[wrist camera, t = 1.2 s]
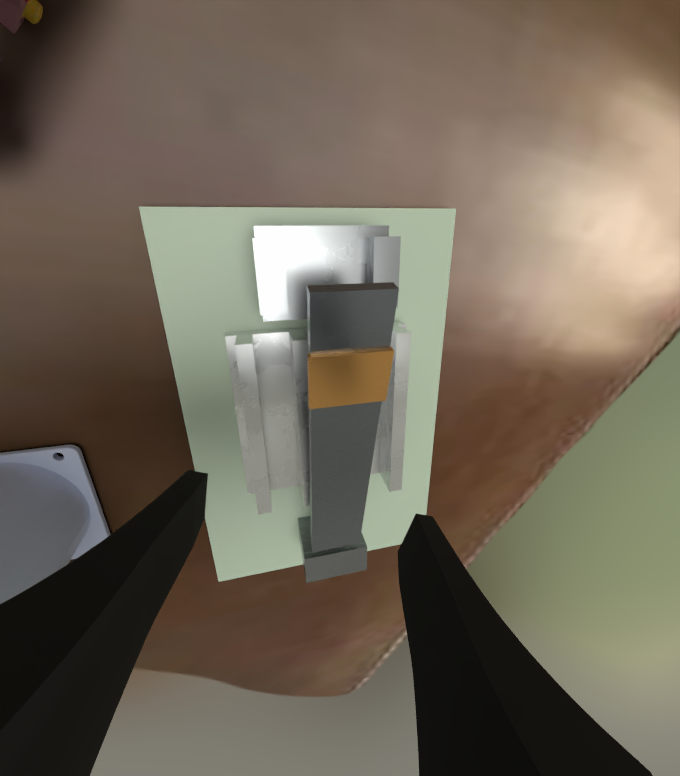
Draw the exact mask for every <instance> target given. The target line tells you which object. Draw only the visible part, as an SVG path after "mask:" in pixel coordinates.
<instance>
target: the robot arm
mask: <svg viewBox="0 0 680 776" xmlns="http://www.w3.org/2000/svg"><path fill="white" fill-rule="evenodd" d="M57 453H61V454H63V456H64V457H60V456H58V455H57ZM207 480H208V473H202V472H197V471H192V470H189V471H187V472H185V473H184V474H183V475H182V476H181V477H180V478H179V479H178V480H177V481H176V482H174V483H173V484H172V485H171V486H170V487H169V488H168V489H167V490H166V491H164V492H163V493H162V494H161V495H160V496H159V497H157V498H156V499H155V500H154V501H153V502H152V503H150V504H149V505H148V506H147V507H145V508H144V509H143V510H142V511H141V512H139V513H138V514H137V515H136V516H134V517H133V518H132V519H131V520H129V521H128V522H127V523H125V524H124V525H123V526H121V527H120V528H119V529H117V530H116V531H115V532H113V533H112V534H110V531H109V528H108V526H107V523H106V520H105V517H104V514H103V511H102V509H101V506H100V503H99V500H98V497H97V494H96V492H95V489H94V486H93V483H92V480H91V477H90V475H89V472H88V469H87V466H86V463H85V460H84V458H83V455H82V452H81V450H80V448H78V447H77V446H75V445H62V446H53V447H45V448H36V449H28V450H20V451H11V452H3V453H0V776H90V773H91V770H92V768H93V765H94V763H95V760H96V758H97V756H98V753H99V750H100V748H101V746H102V743H103V740H104V738H105V736H106V733H107V730H108V728H109V725H110V723H111V720H112V718H113V715H114V713H115V710H116V708H117V706H118V703H119V701H120V699H121V696H122V694H123V691H124V689H125V686H126V684H127V681H128V679H129V677H130V674H131V672H132V670H133V667H134V665H135V663H136V660H137V658H138V656H139V653H140V651H141V649H142V646H143V644H144V642H145V639H146V637H147V635H148V632H149V630H150V628H151V626H152V624H153V622H154V620H155V618H156V616H157V614H158V612H159V610H160V608H161V607H162V605H163V603H164V601H165V599H166V597H167V595H168V593H169V591H170V590H171V588H172V586H173V584H174V582H175V580H176V578H177V576H178V574H179V572H180V571H181V569H182V567H183V565H184V563H185V561H186V559H187V557H188V555H189V553H190V551H191V549H192V547H193V545H194V543H195V540H196V538H197V535H198V533H199V530H200V528H201V525H202V522H203V520H204V517H205V506H206V493H207ZM71 559H75V560H73V561H72V562H70V563H69V561H70V560H71ZM68 563H69V564H68ZM398 570H399V585H400V592H401V598H402V604H403V611H404V617H405V623H406V629H407V635H408V641H409V647H410V654H411V661H412V669H413V678H414V690H415V704H416V719H417V736H418V752H419V776H652V774H651V772H650V771H649V770H648V769H646V768H645V767H644V766H643V765H642V764H641V763H640V762H639V761H638V760H637V759H636V758H634V757H633V756H632V755H631V754H630V753H629V752H628V751H627V750H626V749H624V748H623V747H622V746H621V745H620V744H619V743H618V742H617V741H616V740H615V739H613V737H611V736H610V735H609V734H608V733H607V732H606V731H605V730H604V729H603V728H602V727H601V726H600V725H598V724H597V723H596V722H595V721H594V720H593V719H592V718H591V717H590V716H589V715H588V714H587V713H586V712H585V711H584V710H583V709H582V708H581V707H580V706H579V705H578V704H577V703H576V702H575V701H574V700H573V699H572V698H571V697H570V696H569V695H568V694H567V693H566V692H565V691H564V690H563V689H562V688H561V686H559V684H558V683H557V682H556V681H555V680H554V679H553V678H552V677H551V676H550V675H549V674H548V673H547V671H546V670H545V669H544V668H543V667H542V666H541V665H540V664H539V663H538V662H537V660H536V659H535V658H534V657H533V656H532V655H531V654H530V653H529V651H528V650H527V649H526V648H525V647H524V646H523V645H522V643H521V642H520V641H519V640H518V638H517V637H516V636H515V635H514V634H513V632H512V631H511V630H510V629H509V627H508V626H507V625H506V624H505V623H504V621H503V620H502V619H501V617H500V616H499V615H498V614H497V612H496V611H495V610H494V608H493V607H492V606H491V604H490V603H489V601H488V600H487V599H486V597H485V596H484V595H483V593H482V592H481V590H480V589H479V588H478V586H477V585H476V583H475V582H474V580H473V579H472V577H471V576H470V575H469V573H468V572H467V570H466V569H465V567H464V566H463V564H462V562H461V561H460V559H459V558H458V556H457V555H456V553H455V552H454V550H453V548H452V547H451V545H450V544H449V542H448V540H447V539H446V537H445V536H444V534H443V532H442V531H441V529H440V528H439V526H438V524H437V523H436V521H435V520H434V518H433V517H432V516H427V515H421V514H415V516H414V519H413V521H412V523H411V525H410V527H409V529H408V531H407V533H406V536H405V538H404V540H403V542H402V544H401V546H400V548H399V550H398Z"/></svg>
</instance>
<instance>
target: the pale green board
mask: <svg viewBox="0 0 680 776" xmlns="http://www.w3.org/2000/svg"><path fill="white" fill-rule="evenodd" d="M139 209H140V214H141V219H142V224H143V228H144V233H145V238H146V242H147V247H148V252H149V257H150V261H151V266H152V271H153V275H154V280H155V285H156V289H157V294H158V299H159V304H160V308H161V313H162V318H163V322H164V327H165V332H166V336H167V341H168V346H169V351H170V355H171V360H172V365H173V369H174V374H175V379H176V384H177V388H178V393H179V398H180V402H181V407H182V412H183V416H184V421H185V426H186V431H187V435H188V440H189V445H190V449H191V454H192V459H193V464H194V468H195V471H197V472H202V473H208V480H207V493H206V506H205V520H206V525H207V529H208V534H209V539H210V544H211V548H212V553H213V558H214V562H215V567H216V572H217V576H218V581H219V582H220V581H225V580H229V579H234V578H239V577H244V576H249V575H254V574H258V573H263V572H268V571H273V570H278V569H283V568H287V567H292V566H297V565H302V564H303V558H302V552H301V546H300V539H299V527H298V518H300V517H306V516H310V506H305V507H304V502H303V497H302V492H301V487H300V486H294V487H288V488H282V489H275V490H271V502H272V512H270V513H264V514H258V510H257V503H256V496H255V493H250V494H248V491H247V484H246V477H245V470H244V464H243V457H242V450H241V443H240V437H239V430H238V423H237V416H236V409H235V403H234V396H233V389H232V382H231V375H230V369H229V362H228V355H227V348H226V342H225V334H226V332H235V331H251V330H266V329H281V328H297V327H308V322H307V319H299V320H282V321H266V322H263V315H260V307H259V298H258V288H257V279H256V269H255V260H254V250H253V241H252V238H254V226H351V225H389V236H401V246H400V268H399V293H398V307H397V308H396V312H395V319H394V321H401V322H403V323H406V324H407V325H406V330H408V331H410V332H411V345H410V361H409V377H408V394H407V410H406V426H405V443H404V459H403V476H402V490H397V491H392V492H389V490H388V488H387V486H386V485H385V483H384V481H383V479H382V477H381V476H380V474H379V473H376V474H370V479H369V486H368V492H367V499H366V505H365V511H364V518H363V524H362V531H361V532H362V534H363V537H364V540H365V542H366V545H367V551H370V550H374V549H379V548H384V547H389V546H394V545H399V544H402V542H403V540H404V538H405V536H406V533H407V531H408V529H409V527H410V525H411V523H412V521H413V519H414V516H415V514H421V515H426V512H427V501H428V491H429V481H430V471H431V460H432V450H433V440H434V430H435V419H436V409H437V399H438V389H439V378H440V368H441V358H442V348H443V337H444V327H445V317H446V306H447V296H448V286H449V276H450V265H451V255H452V245H453V235H454V224H455V214H456V209H440V208H271V207H139Z"/></svg>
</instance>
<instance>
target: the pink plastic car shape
mask: <svg viewBox="0 0 680 776" xmlns="http://www.w3.org/2000/svg"><path fill="white" fill-rule="evenodd" d="M42 13H43V7H42V5H41V4H40V3H39V2H38V1H37V0H0V23H1V24H2V25H4V26H5V27H6V28H7V29H9V30H10V31H11V32H12V33H13V34H14V33H16V32H17V30H18V29H19V27H20V26H21V24H22V22H23V20H24V18H26V19H27V20H29V21H30V22H31V23H32V24H36V23H38V22H39V20H40V19H41V17H42ZM1 60H2V59H1V56H0V64H1Z"/></svg>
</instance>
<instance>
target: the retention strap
mask: <svg viewBox="0 0 680 776" xmlns="http://www.w3.org/2000/svg"><path fill="white" fill-rule="evenodd" d="M398 293H399V288H398V287H397V286H396V285H395V284H394V283H393V282H383V283H358V284H334V285H309V286H307V322H308V353H307V374H308V407H309V460H310V529H311V548H312V553H313V552H318V551H323V550H328V549H333V548H338V547H343V546H348V545H353V544H358V543H360V537H361V531H362V524H363V518H364V511H365V505H366V499H367V492H368V486H369V479H370V473H371V466H372V460H373V454H374V447H375V441H376V434H377V428H378V421H379V415H380V409H381V402H382V401H386V398H387V392H388V385H389V379H390V373H391V367H392V361H393V355H394V350H393V348H392V347H390V344H391V338H392V331H393V325H394V319H395V312H396V306H397V299H398Z"/></svg>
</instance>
